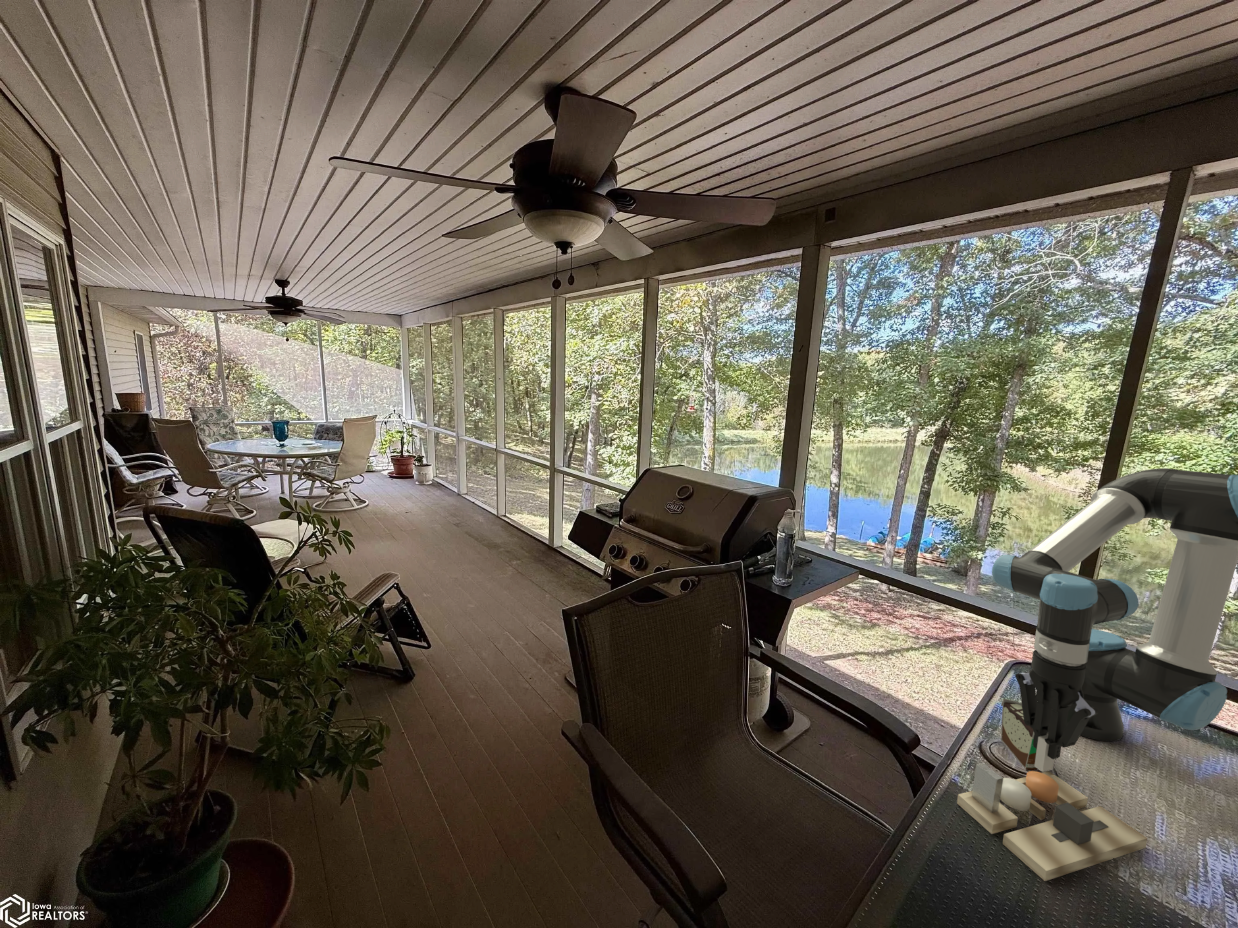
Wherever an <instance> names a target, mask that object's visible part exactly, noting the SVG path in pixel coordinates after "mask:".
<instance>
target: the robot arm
mask: <svg viewBox="0 0 1238 928" xmlns="http://www.w3.org/2000/svg"><path fill="white" fill-rule="evenodd" d="M1144 519H1158V520H1159V519H1160V520H1163V521H1169V522H1171V523H1170V527H1169V530H1170V531H1171V533H1172V534H1173V535H1174V536H1175V537H1176V539H1177V540H1176V544H1175V547H1174V550H1173V555H1172V559H1171V561H1170V564H1169V569H1168V572H1167V575H1166V579H1165V583H1164V587H1163V589H1162V593H1161V597H1160V600H1159V603H1158V608H1157V611H1156V614H1155V618H1154V622H1153V625H1152V629H1151V633H1150V635H1149V639H1148V641H1147V642H1146V643H1142V644H1140V645H1137V646H1136V648H1135V651H1134V650H1131V649H1129V648H1127V646H1128V643H1127V641H1126V640H1125V638H1123V637H1121V636H1120V635H1117V634H1115V633H1111V632H1109V631H1105V630H1099V629H1094V628H1093V626H1094V625H1099V624H1103V623H1108V622H1113V621H1120V620H1123V619H1125V618H1127V617H1129V616H1131V615H1133V614H1134V613H1136V611H1138V608H1139V596H1138V595H1137V593H1136V591H1135V590H1134V589H1133V588H1132V587H1131V586H1130V585H1128V584H1127V583H1125V582H1123V581H1121V580H1118V579H1115V578H1098V579H1094V578H1092V577H1087V576H1084V575H1081V574H1077V573H1074V572H1070V571H1071V570H1073V569H1074V568H1076V567H1077V565H1079V564H1080V563H1082V562H1083V561H1084V560H1085V559H1086V558H1088V557H1089V556H1090V555H1091V554H1092V553H1094V552H1096V550H1097V549H1098V548H1100V547H1101V546H1102V545H1103V544H1105V543H1106V542H1107V541H1109V540H1110V539H1111V538H1112V537H1113V536H1115V535H1116V534H1117V533H1118V532H1120V531H1121V530H1122V529H1123V528H1125V527H1126V526H1130V525H1135V524H1137V523H1140V522H1141V521H1143V520H1144ZM1237 563H1238V474H1227V473H1224V474H1223V473H1215V472H1205V471H1204V472H1203V471H1193V470H1182V469H1176V468H1169V467H1167V468H1165V467H1164V468H1152V469H1150V468H1149V469H1144V470H1140V471H1136V472H1132V473H1129V474H1126V475H1123V476H1121V477H1119V478H1116V479H1114V480H1112V481H1110V482H1108V483H1106V484H1104V485H1103V486H1101V487H1100V488H1099V489H1098V490H1096V491H1095V492H1094V493H1093V494H1092V496H1091V498H1090V502H1089V503H1088V504H1087V505H1085V506H1084V507H1083V508H1081V509H1080V510H1079V511H1078V512H1077V513H1075V514H1073V516H1072V517H1070V518H1069V519H1068V520H1067V521H1065V522H1063V524H1061V525H1060V526H1059V527H1057V528H1056V529H1055V530H1053V531H1051V533H1049V534H1048V535H1047V536H1046V537H1044V539H1042V540H1040V541H1039V542H1038V543H1037V544H1035V545H1034V546H1033V547H1032V548H1030V549H1029V550H1028V551H1026V552H1024V554H1023V555H1021V556H1017V555H1012V554H1004V555H1000V556H999V557H997V558H996V560H995V561H994V563H993V564H992V568H991V575H992V579H993V581H994V582H995V584H997V585H998V586H1000V587H1002V588H1003V589H1007V590H1009V591H1012V592H1013V593H1017V594H1021V595H1024V596H1026V597H1029V598H1033V599H1036V600H1038V601H1039V607H1038V616H1037V623H1036V629H1035V630H1036V631H1035V635H1034V636H1035V638H1034V644H1033V649H1034V650H1033V651H1032V656H1031V658H1032V659H1031V670H1030V671H1029V672H1020V673H1015V678H1016V681H1017V683H1018V686H1019V692H1020V701H1021V703H1022V709H1023V717H1024V723H1025V724H1026V725H1027V726H1030V727H1031V728H1032V729H1033V731H1034V740H1033V746H1034V748H1036V749H1037V751H1036V758H1035V767H1036V768H1037V769H1038V770H1039V772H1041V773H1043V772H1047V771H1052V770H1054V764H1055V760H1057V759H1059V758H1060V757H1061V750H1062V748H1067V747H1068V748H1069V747H1073V746H1075V745H1076V744H1077V742H1078V740H1079V738H1080V737H1085V738H1088V739H1092V740H1095V741H1104V742H1115V741H1120V740H1121V739H1122V738H1123V736H1124V729H1125V725H1124V722H1123V720H1122V719H1123V718H1122V716H1121V711H1120V707H1119V705H1118V700H1120V701H1121V702H1124V703H1126V704H1128V705H1130V706H1132V707H1135V708H1137V709H1139V710H1141V711H1143V712H1146V714H1147V713H1148V714H1149V715H1152V716H1154V717H1156V718H1158V719H1160V721H1163V722H1167V723H1170V724H1172V725H1173V726H1177V727H1180V728H1181V729H1185V730H1189V731H1196V730H1197V731H1198V730H1200V729H1203V728H1205V727H1207V726H1208V725H1210V724H1211V723H1212V722H1213V721H1214V720H1215V719H1216V718H1217V716H1218V715H1219V713H1221V711H1222V709H1223V708H1224V706H1225V704H1226V701H1227V698H1228V694H1227V693H1228V689H1227V687H1226V686H1224V685H1223V684H1222V683H1221V682H1219V681H1216V678H1217V674H1218V671H1217V669H1215V667H1214V666H1213V665H1212V664H1211V662H1210V661H1209V660H1210V656H1211V653H1212V649H1213V646H1214V642H1215V639H1216V636H1217V632H1218V629H1219V626H1220V622H1221V618H1222V615H1223V612H1224V608H1225V605H1226V602H1227V597H1228V595H1229V591H1230V588H1231V584H1232V581H1233V579H1234V574H1235V571H1236V567H1237ZM1047 733H1048V735H1047Z"/></svg>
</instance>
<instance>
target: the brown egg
mask: <svg viewBox="0 0 1238 928" xmlns="http://www.w3.org/2000/svg"><path fill="white" fill-rule="evenodd" d="M1025 777H1026V784H1025V786H1027V787H1028V788H1029V790H1030V791H1031V797H1033V798H1035V799H1036V800H1038V801H1041V802H1043V803H1047V804H1056V803H1055V802H1056V801H1057V797H1058V790H1059V785H1058V784H1057V782H1056V781H1055V780H1054V779H1052V778H1051V777H1049V776H1047V775H1045V774H1043V772H1041V771H1037V770H1032V771H1029V770H1028V771H1027V772H1026V776H1025Z"/></svg>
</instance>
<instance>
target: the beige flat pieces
mask: <svg viewBox="0 0 1238 928" xmlns="http://www.w3.org/2000/svg"><path fill="white" fill-rule="evenodd" d="M1042 773H1043V774H1045V775H1047V776H1049V777H1051V778H1052V779H1054V780H1055V781H1056V782H1057V784H1058V785H1059V790H1058V797H1057V801H1056V802H1055V803H1054V804H1056V806H1057V805H1061V804H1064V803H1069V804H1070V805H1072V806H1073V807H1075V808H1076V809H1077V810H1079V809H1084V808H1087V806H1088V799H1089V797H1088V796H1087V795H1084V793H1082V792H1080V791H1079V790H1077V789H1076V788H1074V787H1073V786H1071V785H1070V784H1069V783H1067V782H1066V781H1064V780H1062V779H1061V778H1060V777H1059V776H1057V775H1055V774H1054V773H1052V772H1051V770H1049V771H1045V772H1042ZM1015 780H1017V781H1019V782H1021V783H1022V784H1024V785H1025V784H1026V776H1023V777H1021V778H1017V779H1015ZM956 801H957V802H956V804H957V805H958V806H960V808H962V809H963V810H964V811H965V812H966V813H967V814H968V815H969V816H971V817H972V818H973V819H974V820H976V822H978V823H979V824H980V825H981V826H982V827H983V828H984V829H985V830H986V831H987V832H989V833H990V834H991V835H994V834H997V833H1000V832H1003V831H1008V830H1012V829H1015V828H1017V827H1018V826H1017V825H1018V819H1019V817H1018V816H1017V815H1015V814H1014V813H1013V812H1012V811H1010V810H1009V809H1008V808H1007V807H1006V806H1004V805H1003V804H1002V803H1001V802H999V808H998V811H997V812H993V813H991V812H990V811H989V810H988V809H986V808H985V807H984V806H983V805H982V804H980V803H979V802H978V801H977V800H976V799H974V798H973V797H972V790H970V791H967V792H962V793H958V794H957V800H956ZM1046 811H1047V810H1046V809H1045V807H1043V806H1042V805H1040V804H1039V803H1038V802H1036V801H1035V800H1034V799H1033V798H1031V802H1030V808H1029V810H1028V812H1030V813H1031V814H1032V815H1034V817H1036V818H1037V819H1038V820H1040V821H1042V820H1045V818H1046ZM1080 812H1082V813H1083V814H1085V815H1086V816H1087V817H1089V818H1090V819H1092V820H1093V821H1094V822H1093V828H1092V835H1091V841H1089V842H1085V843H1082V844H1079V845H1078V844H1076V843H1075V842H1074V841H1073V840H1071V839H1070V838H1069V837H1067V836H1066V835H1065V834H1063V833H1062V832H1061V831H1060V830H1058V829H1057V828H1056V827H1054V826H1053V821H1054V819H1050V820H1047V821H1045V822H1041V823H1037V824H1033V825H1030V826H1027V827H1024V828H1021V829H1017V830H1014V831H1011V832H1006V833H1003V839H1002V845H1003V846H1005V848H1007V849H1008V850H1009V851H1010V852H1011V853H1012V854H1014V856H1016V857H1017V858H1018V860H1019V859H1020V861H1021V862H1023V864H1025V866H1027V867H1028V868H1029V869H1030V870H1031V871H1033V873H1035V874H1036V875H1037V876H1038V877H1040V878H1041V879H1042V880H1043V881H1044V882H1047V881H1050V880H1052V879H1056V878H1059V877H1062V876H1065V875H1068V874H1071V873H1075V872H1077V871H1080V870H1083V869H1086V868H1089V867H1092V866H1095V865H1098V864H1101V863H1104V862H1107V861H1110V860H1113V858H1114V859H1117V858H1119V857H1122V856H1125V855H1128V854H1131V853H1134V852H1137V851H1140V850H1143V849H1146V847H1147V844H1148V837H1146V836H1145V835H1144V834H1142V833H1141V832H1139V831H1137V830H1136V829H1135V828H1134V827H1132V826H1130V825H1128V824H1127V823H1126V822H1125V821H1123V820H1122V819H1120V818H1118V817H1117V816H1116V815H1114V814H1112V813H1111V812H1110V811H1108V810H1107V809H1105V808H1104V807H1102V806H1101V805H1099V806H1095V807H1092V808H1089V809H1085V810H1081V811H1080Z"/></svg>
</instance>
